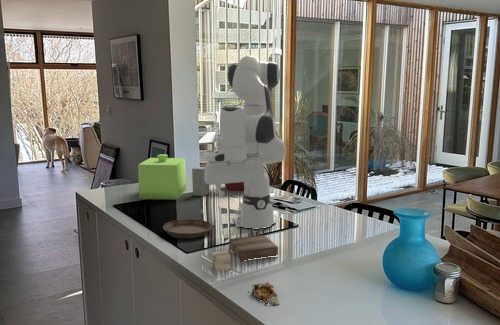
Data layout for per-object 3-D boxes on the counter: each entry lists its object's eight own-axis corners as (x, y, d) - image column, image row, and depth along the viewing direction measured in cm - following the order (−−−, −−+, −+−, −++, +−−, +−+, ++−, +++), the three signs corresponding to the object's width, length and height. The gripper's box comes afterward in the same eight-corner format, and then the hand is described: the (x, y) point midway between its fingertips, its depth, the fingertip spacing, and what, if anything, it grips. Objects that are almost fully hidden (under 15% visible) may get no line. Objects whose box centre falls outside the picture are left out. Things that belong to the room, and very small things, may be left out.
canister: (150, 189, 275) (149, 151, 271) (185, 189, 274) (185, 151, 270) (139, 199, 250) (137, 157, 246) (177, 199, 249) (176, 158, 246)
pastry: (267, 308, 127) (268, 297, 126) (246, 292, 137) (246, 281, 136) (287, 302, 130) (287, 291, 130) (265, 287, 140) (265, 277, 140)
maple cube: (212, 266, 156) (212, 252, 155) (226, 264, 158) (226, 250, 157) (216, 271, 151) (216, 257, 151) (230, 270, 153) (230, 255, 152)
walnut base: (229, 248, 173) (229, 238, 172) (263, 244, 177) (264, 234, 177) (241, 261, 160) (241, 251, 159) (277, 257, 164) (277, 246, 164)
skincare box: (201, 196, 256) (201, 169, 253) (191, 195, 259) (191, 168, 257) (210, 193, 263) (210, 167, 260) (200, 192, 266) (199, 165, 264)
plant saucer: (204, 223, 206) (204, 216, 205) (218, 237, 187) (218, 229, 186) (159, 228, 198) (159, 221, 198) (168, 243, 179) (168, 235, 179)
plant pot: (220, 191, 268) (220, 163, 266) (223, 185, 287) (223, 158, 285) (252, 192, 268) (252, 164, 265) (253, 185, 287) (253, 159, 284)
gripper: (259, 152, 156) (260, 191, 158) (202, 155, 149) (203, 197, 151) (266, 153, 150) (267, 194, 152) (206, 157, 144) (208, 200, 145)
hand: (235, 195), depth 151 cm, fingers open, 8 cm apart
